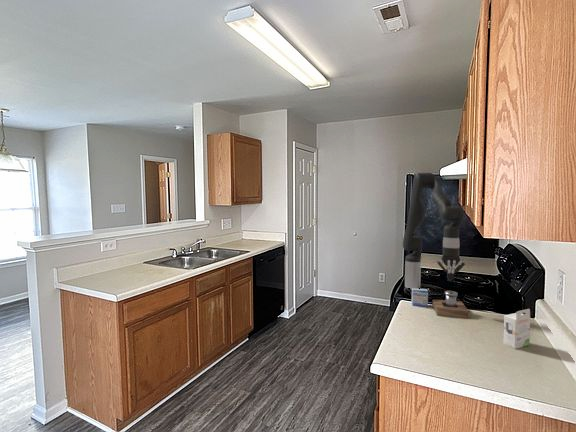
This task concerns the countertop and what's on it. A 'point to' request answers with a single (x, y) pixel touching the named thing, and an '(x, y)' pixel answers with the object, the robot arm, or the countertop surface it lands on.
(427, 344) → the countertop surface
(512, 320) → the ink box
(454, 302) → the cylinder
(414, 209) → the robot arm
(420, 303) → the medicine box
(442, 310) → the jig
